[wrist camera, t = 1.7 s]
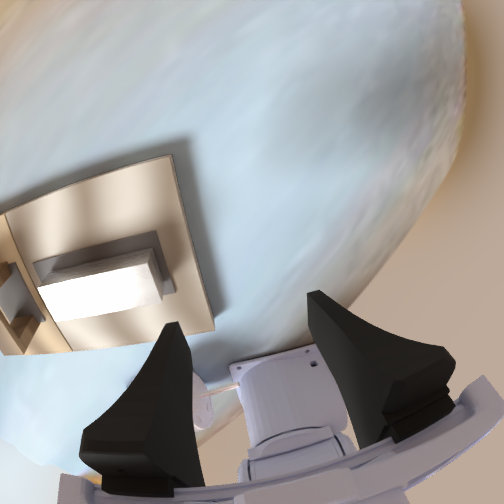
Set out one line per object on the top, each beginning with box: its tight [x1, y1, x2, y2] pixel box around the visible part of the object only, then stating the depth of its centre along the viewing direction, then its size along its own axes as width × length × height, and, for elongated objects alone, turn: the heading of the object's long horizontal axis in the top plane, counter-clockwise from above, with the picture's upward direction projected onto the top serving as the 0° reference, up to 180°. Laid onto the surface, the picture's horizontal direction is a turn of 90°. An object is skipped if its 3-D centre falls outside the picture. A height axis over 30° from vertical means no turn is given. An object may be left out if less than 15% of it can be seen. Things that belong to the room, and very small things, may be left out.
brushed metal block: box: [38, 248, 165, 321], centre depth 18 cm, size 9×3×2 cm, turn 98°
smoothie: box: [192, 372, 240, 431], centre depth 24 cm, size 6×6×14 cm
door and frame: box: [0, 154, 215, 355], centre depth 17 cm, size 22×14×6 cm, turn 98°
